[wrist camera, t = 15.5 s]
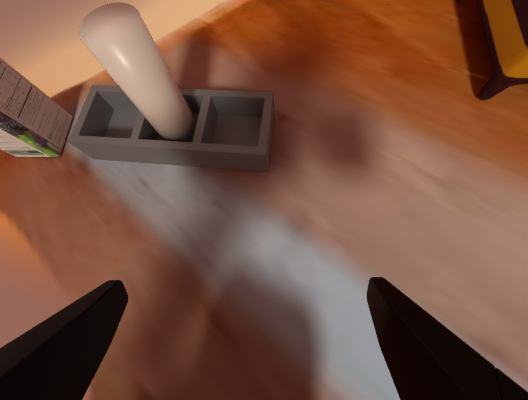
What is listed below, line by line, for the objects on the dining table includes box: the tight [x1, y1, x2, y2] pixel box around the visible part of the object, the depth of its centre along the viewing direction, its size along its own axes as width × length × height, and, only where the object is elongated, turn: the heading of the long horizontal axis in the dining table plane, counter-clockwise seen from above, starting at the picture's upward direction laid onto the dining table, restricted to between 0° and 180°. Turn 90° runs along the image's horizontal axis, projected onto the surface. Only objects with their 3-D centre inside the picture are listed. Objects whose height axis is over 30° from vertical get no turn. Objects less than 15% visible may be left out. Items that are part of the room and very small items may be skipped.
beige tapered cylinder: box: [79, 3, 197, 142], centre depth 21 cm, size 4×4×12 cm
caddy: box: [68, 85, 274, 172], centre depth 25 cm, size 20×7×4 cm, turn 84°
